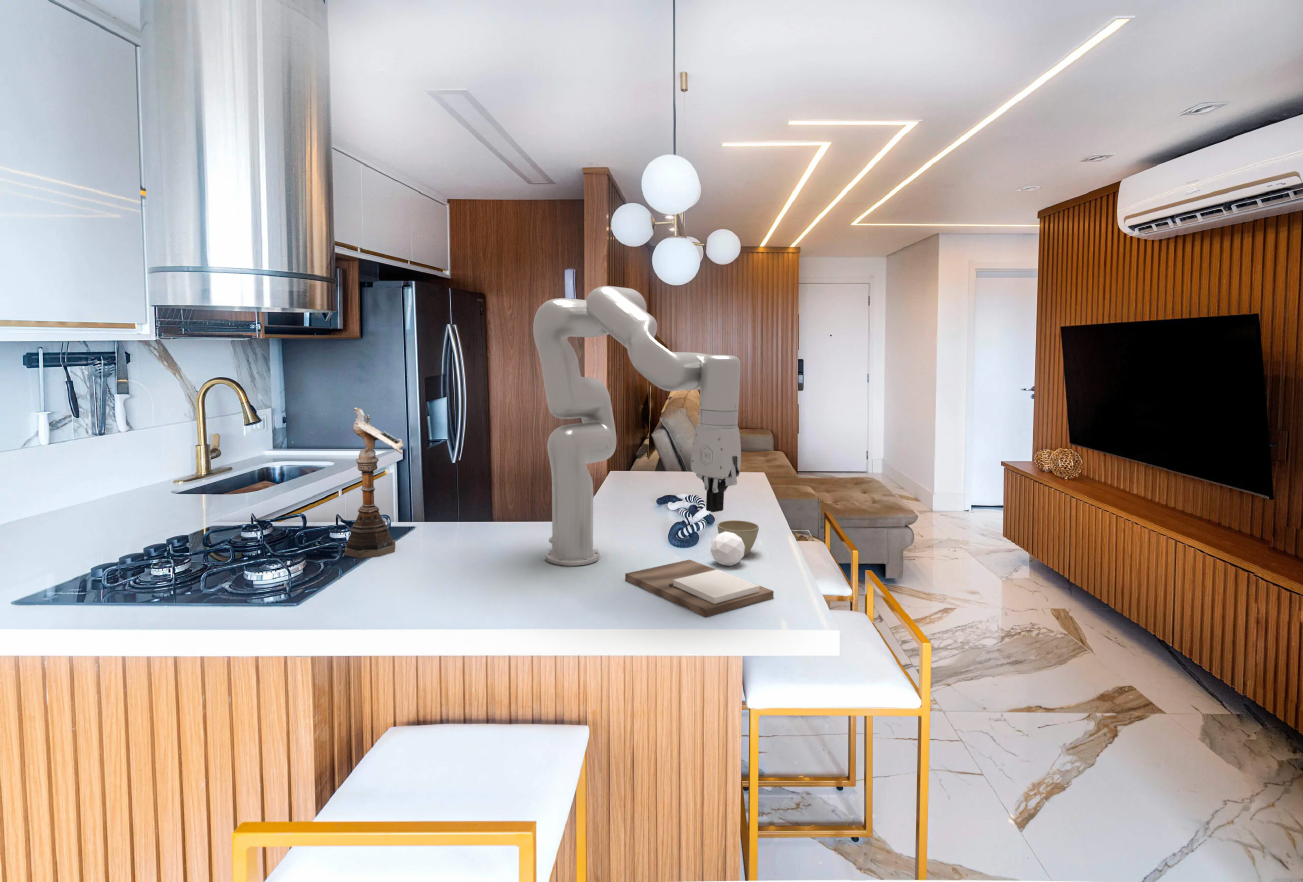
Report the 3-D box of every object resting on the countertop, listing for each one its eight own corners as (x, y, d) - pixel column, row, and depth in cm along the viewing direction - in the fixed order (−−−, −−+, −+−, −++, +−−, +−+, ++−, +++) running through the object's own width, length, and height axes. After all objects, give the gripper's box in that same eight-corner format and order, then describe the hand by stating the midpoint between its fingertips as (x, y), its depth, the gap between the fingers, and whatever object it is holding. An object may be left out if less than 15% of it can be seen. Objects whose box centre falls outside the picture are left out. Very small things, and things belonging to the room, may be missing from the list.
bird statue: (417, 539, 184) (413, 402, 180) (417, 553, 172) (413, 406, 167) (346, 544, 179) (341, 403, 175) (342, 559, 167) (335, 407, 162)
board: (625, 580, 155) (625, 571, 154) (689, 565, 166) (689, 557, 165) (705, 617, 134) (706, 606, 134) (773, 598, 145) (773, 588, 145)
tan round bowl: (711, 556, 173) (712, 527, 172) (723, 546, 182) (724, 518, 181) (752, 561, 170) (753, 532, 169) (762, 551, 179) (763, 522, 178)
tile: (714, 597, 136) (714, 604, 137) (759, 585, 144) (759, 592, 144) (673, 579, 146) (673, 586, 146) (717, 569, 153) (717, 575, 154)
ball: (734, 578, 166) (744, 557, 161) (702, 563, 167) (711, 542, 162) (743, 554, 172) (753, 533, 166) (712, 541, 173) (721, 519, 167)
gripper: (679, 415, 144) (676, 505, 147) (730, 424, 133) (726, 521, 135) (707, 414, 149) (704, 501, 152) (759, 422, 137) (755, 516, 140)
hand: (714, 510), depth 143 cm, fingers closed
